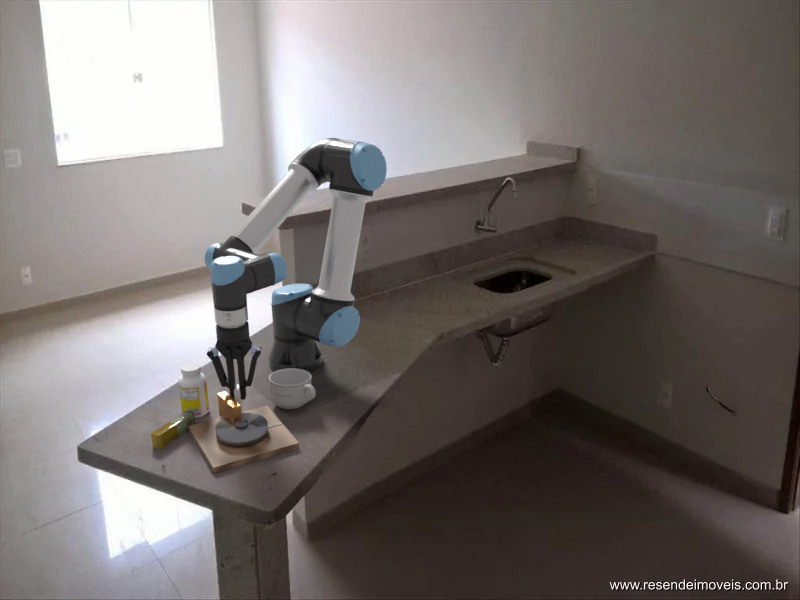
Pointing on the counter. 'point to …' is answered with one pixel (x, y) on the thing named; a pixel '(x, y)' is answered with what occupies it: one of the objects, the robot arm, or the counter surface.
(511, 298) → the counter surface
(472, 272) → the counter surface
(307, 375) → the teacup
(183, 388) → the supplement bottle
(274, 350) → the robot arm
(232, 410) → the dial
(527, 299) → the counter surface
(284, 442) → the board
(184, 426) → the medication box
